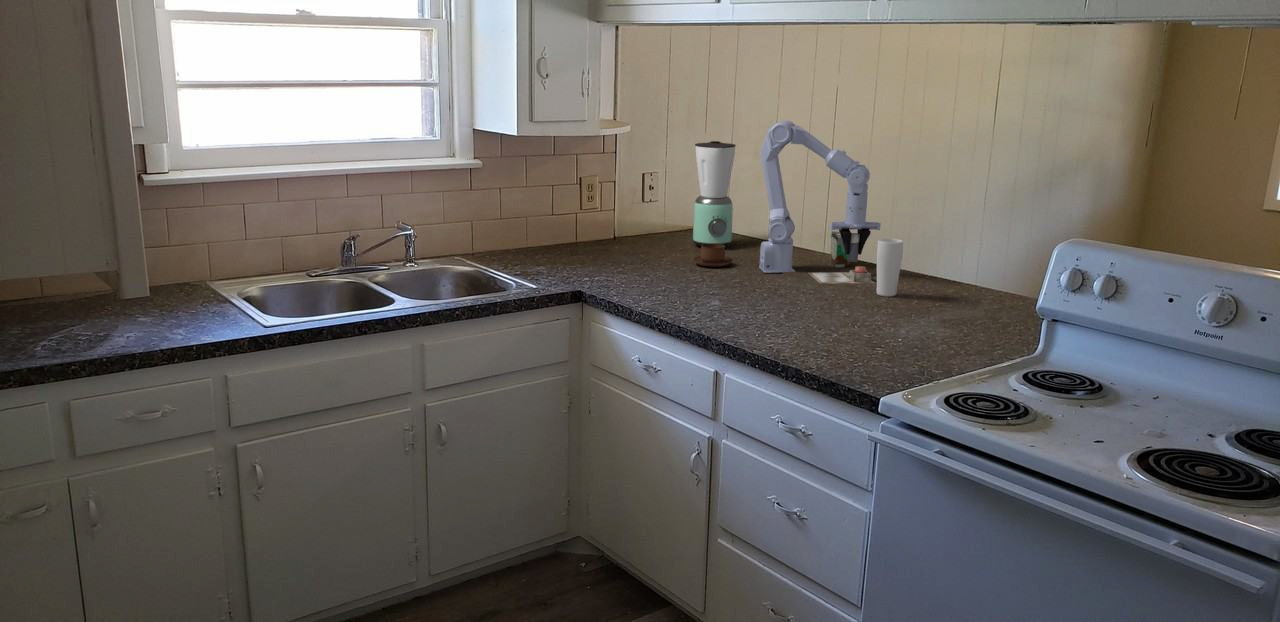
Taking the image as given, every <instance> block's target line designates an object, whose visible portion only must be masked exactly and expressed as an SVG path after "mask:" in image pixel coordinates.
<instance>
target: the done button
mask: <svg viewBox="0 0 1280 622" xmlns="http://www.w3.org/2000/svg"><path fill="white" fill-rule="evenodd" d="M854 270H855V273H866V271H867V266H862V265H861V266H860V265H857V266H855V267H854Z"/></svg>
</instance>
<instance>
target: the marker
mask: <svg viewBox="0 0 1280 622" xmlns="http://www.w3.org/2000/svg"><path fill="white" fill-rule="evenodd" d="M851 233H852V235H851V240H850V253H849V255H848V257H847V261H850V262H851V263H856V262H858V261H859V254H858V251H859V240H860V234H859V233H858V232H857V233H856V232H851Z"/></svg>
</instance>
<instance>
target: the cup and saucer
mask: <svg viewBox="0 0 1280 622" xmlns="http://www.w3.org/2000/svg"><path fill="white" fill-rule="evenodd" d="M700 249H701V251H700V255H699V256H695V257H693V259H692V260H693V262H694V263H695V264H696V265H699V266H702V267H708V268H720V267H721V268H722V267H726V266H729V265H730V264H732V263H733V258H730V257H728V256H726V255H725V254H726V249H725V245H722V244H703V245H701V246H700Z"/></svg>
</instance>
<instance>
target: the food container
mask: <svg viewBox="0 0 1280 622" xmlns="http://www.w3.org/2000/svg"><path fill="white" fill-rule="evenodd" d="M830 238H831V239H830V258H829V261H830V263H831V264H832V265H833V267H835V268H836V269H840V268H841V269H843V268H847V267H850V264H851V263H850V261H847V257H848V255H847V254H845V249H844V244H843V240H842V237H841V235H840V232H839V231H837V230H836V231H835V230H832V231H831V234H830Z"/></svg>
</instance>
